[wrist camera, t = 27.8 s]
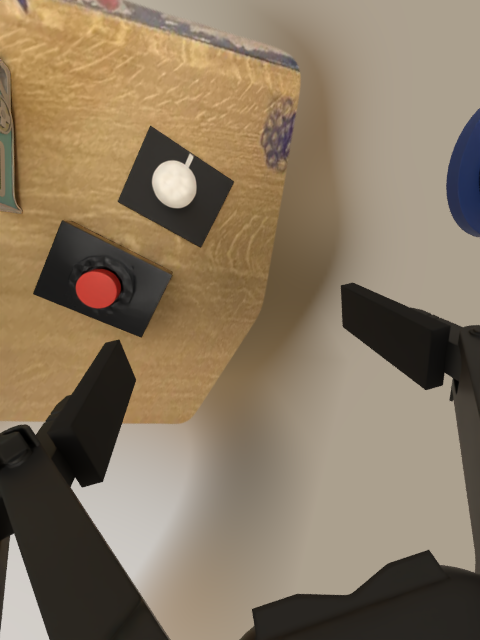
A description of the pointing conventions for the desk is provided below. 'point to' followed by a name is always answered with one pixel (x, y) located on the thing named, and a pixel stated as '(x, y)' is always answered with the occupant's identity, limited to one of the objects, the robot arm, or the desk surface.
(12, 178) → the handheld gaming console
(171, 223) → the mouse pad
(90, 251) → the button box
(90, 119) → the desk surface
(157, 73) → the desk surface
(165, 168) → the milkshake
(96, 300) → the button
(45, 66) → the desk surface
